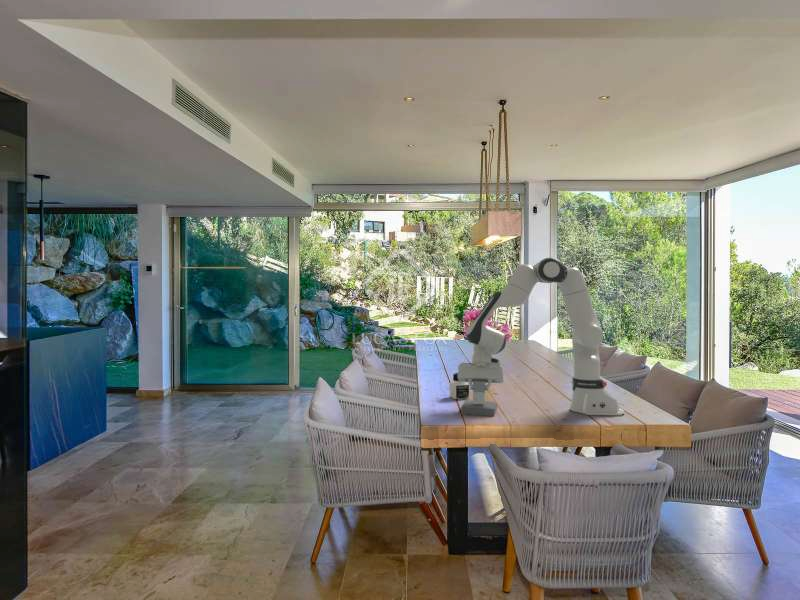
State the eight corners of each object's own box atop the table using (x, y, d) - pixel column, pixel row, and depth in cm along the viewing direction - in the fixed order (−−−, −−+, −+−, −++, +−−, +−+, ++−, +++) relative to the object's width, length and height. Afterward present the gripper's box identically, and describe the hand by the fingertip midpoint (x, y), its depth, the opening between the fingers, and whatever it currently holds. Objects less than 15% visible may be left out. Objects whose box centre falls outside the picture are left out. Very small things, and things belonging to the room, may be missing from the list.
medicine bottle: (456, 399, 258) (456, 375, 257) (449, 397, 264) (449, 372, 264) (469, 398, 260) (469, 374, 260) (462, 395, 267) (462, 371, 267)
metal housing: (485, 400, 236) (485, 380, 236) (484, 402, 231) (484, 382, 231) (474, 399, 237) (474, 379, 237) (473, 402, 232) (473, 381, 232)
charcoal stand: (496, 408, 239) (496, 402, 239) (494, 416, 226) (494, 409, 226) (465, 406, 243) (465, 400, 243) (461, 414, 229) (461, 407, 229)
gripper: (458, 358, 243) (454, 384, 234) (504, 360, 238) (502, 386, 228) (459, 367, 247) (456, 392, 238) (504, 368, 242) (503, 394, 233)
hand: (479, 389), depth 233 cm, fingers closed on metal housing, 5 cm apart
